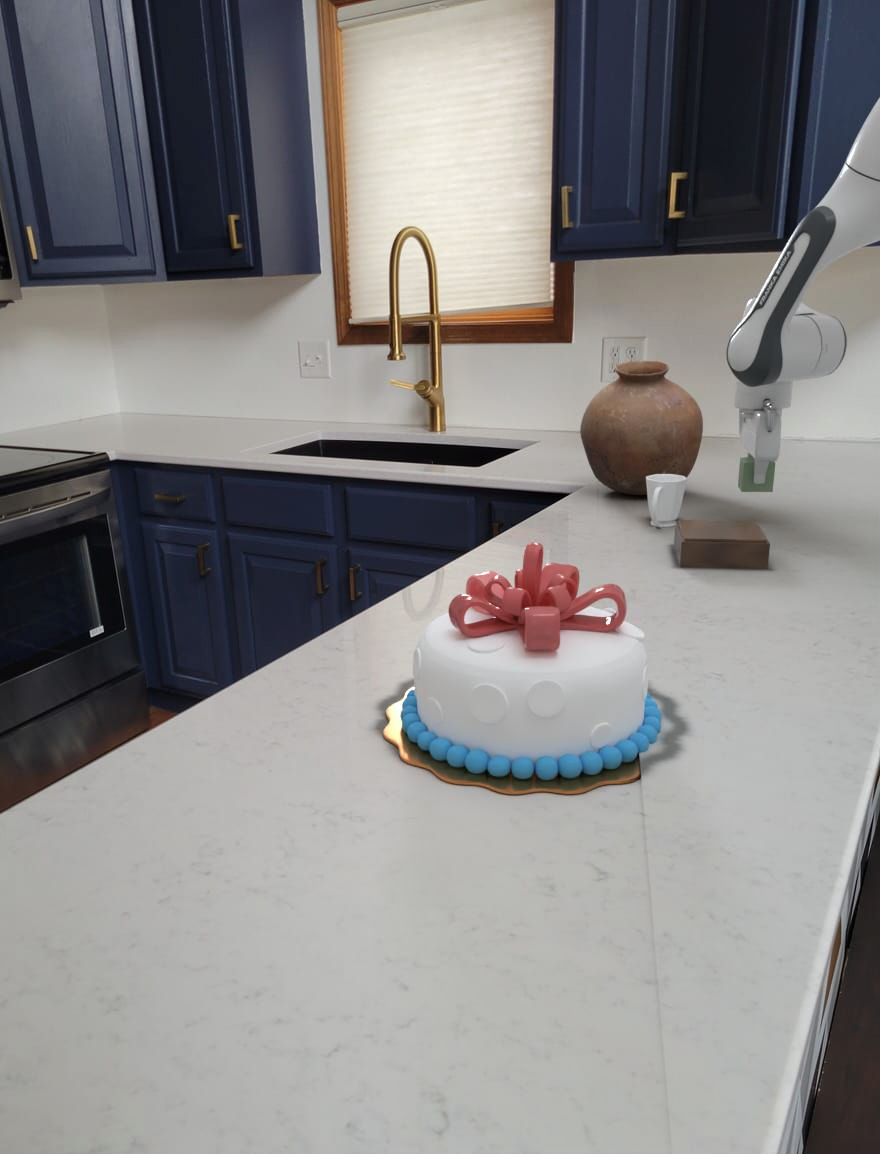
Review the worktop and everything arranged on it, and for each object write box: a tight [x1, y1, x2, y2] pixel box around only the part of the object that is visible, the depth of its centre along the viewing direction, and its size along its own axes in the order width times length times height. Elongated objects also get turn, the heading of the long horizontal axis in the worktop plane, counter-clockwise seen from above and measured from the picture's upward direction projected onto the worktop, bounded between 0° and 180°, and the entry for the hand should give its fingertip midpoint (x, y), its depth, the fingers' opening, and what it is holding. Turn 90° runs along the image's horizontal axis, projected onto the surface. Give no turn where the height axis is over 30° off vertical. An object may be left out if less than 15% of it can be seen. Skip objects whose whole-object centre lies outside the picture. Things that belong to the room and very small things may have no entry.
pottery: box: [579, 360, 704, 496], centre depth 185 cm, size 23×23×25 cm
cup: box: [646, 474, 688, 529], centre depth 162 cm, size 7×10×8 cm
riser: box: [672, 519, 771, 570], centre depth 141 cm, size 12×12×5 cm
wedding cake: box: [382, 541, 663, 795], centre depth 89 cm, size 28×28×18 cm
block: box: [737, 456, 776, 493], centre depth 163 cm, size 5×5×5 cm
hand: (755, 479), depth 163 cm, fingers closed on block, 5 cm apart
